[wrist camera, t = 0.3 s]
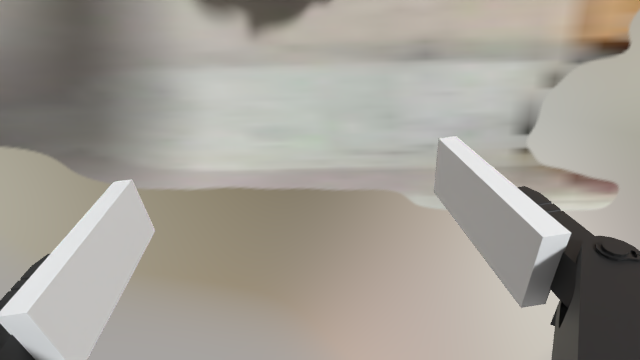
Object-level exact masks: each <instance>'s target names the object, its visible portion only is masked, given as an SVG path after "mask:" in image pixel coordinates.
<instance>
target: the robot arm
mask: <svg viewBox="0 0 640 360" xmlns="http://www.w3.org/2000/svg"><path fill="white" fill-rule="evenodd" d="M434 193H435V194H436V195H437V197H438V198H439V199H440V201H441V202H442V203H443V205H444V206H445V207H446V209H447V210H448V211H449V213H450V214H451V215H452V217H453V218H454V219H455V221H456V222H457V223H458V225H459V226H460V227H461V228H462V230H463V231H464V233H465V234H466V235H467V236H468V238H469V239H470V240H471V242H472V243H473V244H474V246H475V247H476V248H477V250H478V251H479V252H480V254H481V255H482V256H483V258H484V259H485V260H486V262H487V263H488V264H489V266H490V267H491V268H492V269H493V271H494V272H495V274H496V275H497V276H498V278H499V279H500V280H501V282H502V283H503V284H504V286H505V287H506V288H507V290H508V291H509V292H510V294H511V295H512V296H513V298H514V299H515V300H516V302H517V303H518V304H519V306H520V307H528V306H534V305H541V304H545V303H546V301H547V298H548V295H549V293H550V290H552V291H553V292H554V294H555V295H556V296H557V297H558V298H559V299H560V301H559V304H558V306H557V309H556V312H555V314H554V317H553V319H552V322H551V325H553V326H555V332H554V342H553V351H552V360H640V251H639V250H638V249H636V248H635V247H634V246H632V245H630V244H628V243H626V242H624V241H621V240H618V239H615V238H611V237H605V236H594V235H593V234H591V233H590V232H589V231H588V230H586V229H585V228H584V227H582V226H581V225H580V224H579V223H577V222H576V221H575V220H573V219H572V218H571V217H570V216H568V215H567V214H566V213H565V212H563V211H561V210H560V208H558V207H557V206H556V205H555V204H551V201H549V200H548V199H547V198H546V197H544V196H543V195H542V194H541V193H539V192H537V191H534V190H532V189H530V188H528V187H525V186H523V187H516V186H515V185H514V184H512V183H511V182H510V181H509V180H508V179H506V178H505V177H504V176H503V175H502V174H500V173H499V172H498V171H497V170H496V169H494V168H493V167H492V166H491V165H490V164H489V163H487V162H486V161H485V160H484V159H483V158H481V157H480V156H479V155H478V154H477V153H475V152H474V151H473V150H472V149H471V148H469V147H468V146H467V145H466V144H465V143H463V142H462V141H461V140H460V139H459V138H458V137H456V136H453V137H446V138H439V140H438V151H437V162H436V173H435V185H434ZM154 232H155V229H154V227H153V225H152V223H151V220H150V218H149V216H148V213H147V211H146V209H145V207H144V204H143V202H142V200H141V198H140V196H139V193H138V191H137V189H136V186H135V184H134V182H133V180H132V179H131V180H123V181H116V182H113V183H112V184H111V185H110V187H109V188H108V189H107V190H106V191H105V192H104V193H103V195H102V196H101V197H100V198H99V199H98V200H97V202H96V203H95V204H94V205H93V206H92V207H91V208H90V209H89V211H88V212H87V213H86V214H85V215H84V217H82V219H81V220H80V221H79V222H78V223H77V224H76V226H74V228H73V229H72V230H71V231H70V232H69V233H68V235H67V236H66V237H65V238H64V239H63V240H62V241H61V242H60V244H59V245H58V246H57V247H56V248H55V249H54V250H53V252H52V253H51V254H48V255H46V256H45V257H43V258H42V259H41V260H39V261H38V262H37V263H35V264H34V265H32V267H30V269H29V270H28V271H27V272H26V273H25V274H24V275H23V276H22V277H21V280H20V281H18V282H17V283H16V284H15V285H14V286H13V287H12V288H11V291H10V292H8V293H7V294H6V295H5V296H4V297H3V298H2V300H0V360H87V359H88V357H89V356H90V354H91V352H92V350H93V348H94V346H95V344H96V342H97V340H98V338H99V337H100V335H101V333H102V331H103V329H104V327H105V325H106V323H107V322H108V320H109V317H110V316H111V314H112V312H113V310H114V308H115V306H116V304H117V302H118V301H119V299H120V297H121V295H122V293H123V291H124V289H125V287H126V285H127V284H128V282H129V280H130V278H131V276H132V274H133V272H134V270H135V268H136V266H137V264H138V263H139V261H140V259H141V257H142V255H143V253H144V251H145V249H146V247H147V245H148V244H149V242H150V240H151V238H152V236H153V234H154Z"/></svg>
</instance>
